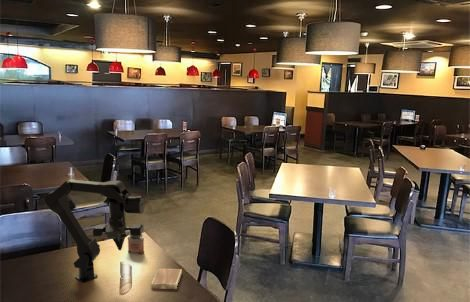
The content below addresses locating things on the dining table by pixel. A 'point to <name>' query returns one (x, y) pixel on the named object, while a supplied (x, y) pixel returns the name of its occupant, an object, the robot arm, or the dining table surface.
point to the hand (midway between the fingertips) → (120, 249)
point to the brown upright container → (136, 245)
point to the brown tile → (166, 278)
